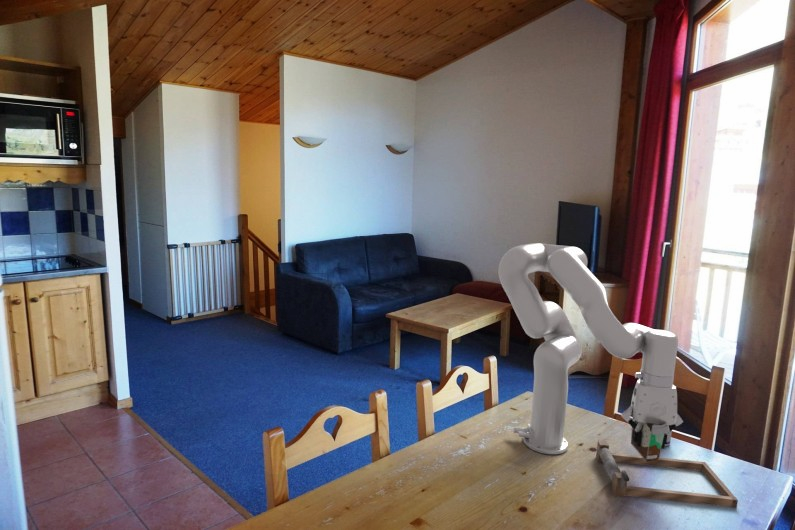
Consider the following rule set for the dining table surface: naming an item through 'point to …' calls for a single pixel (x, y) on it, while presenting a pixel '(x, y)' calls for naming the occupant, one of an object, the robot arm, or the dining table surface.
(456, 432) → the dining table surface
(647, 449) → the food container
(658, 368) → the robot arm
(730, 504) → the rectangular wooden frame
